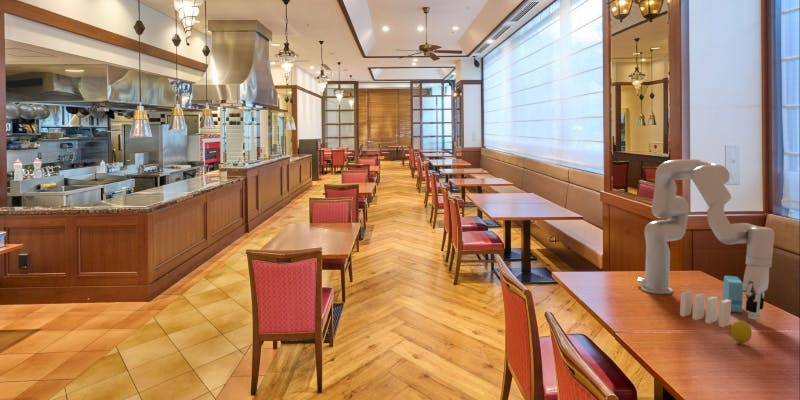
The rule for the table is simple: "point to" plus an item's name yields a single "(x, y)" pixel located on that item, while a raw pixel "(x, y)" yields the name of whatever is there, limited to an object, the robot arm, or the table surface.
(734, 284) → the data package
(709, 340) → the table surface
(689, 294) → the tile
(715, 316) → the tile
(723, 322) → the tile
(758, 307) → the tile
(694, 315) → the tile
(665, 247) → the robot arm
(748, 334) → the lemon
